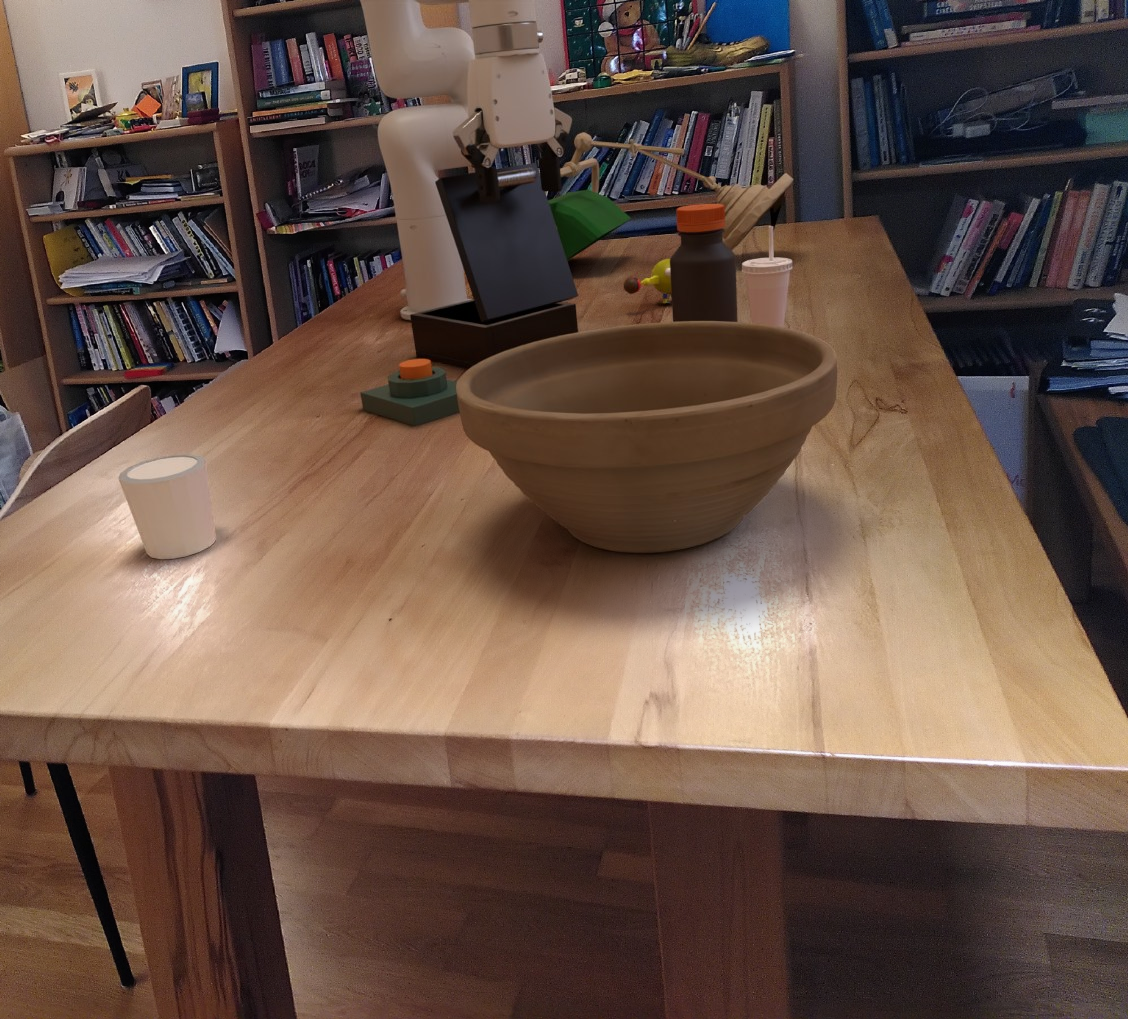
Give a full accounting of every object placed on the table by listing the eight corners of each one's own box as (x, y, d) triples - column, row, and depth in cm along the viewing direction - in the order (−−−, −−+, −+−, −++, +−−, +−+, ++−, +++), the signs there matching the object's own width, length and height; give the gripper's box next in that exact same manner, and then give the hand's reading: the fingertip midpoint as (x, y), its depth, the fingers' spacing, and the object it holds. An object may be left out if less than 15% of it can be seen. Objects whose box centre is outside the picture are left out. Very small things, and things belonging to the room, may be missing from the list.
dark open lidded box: (416, 357, 143) (409, 314, 141) (502, 334, 152) (497, 293, 149) (490, 374, 131) (485, 327, 129) (579, 348, 140) (575, 303, 137)
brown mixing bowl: (433, 503, 91) (411, 356, 86) (713, 436, 101) (708, 301, 96) (560, 640, 67) (539, 446, 62) (915, 535, 76) (921, 359, 71)
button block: (363, 410, 121) (357, 377, 120) (427, 391, 126) (422, 359, 125) (415, 426, 113) (409, 391, 112) (481, 405, 118) (477, 371, 117)
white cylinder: (152, 533, 91) (132, 458, 88) (231, 524, 91) (214, 448, 89) (128, 566, 84) (106, 486, 82) (213, 556, 85) (194, 476, 82)
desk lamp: (676, 342, 217) (537, 216, 215) (819, 183, 196) (666, 44, 195) (635, 390, 186) (473, 244, 185) (798, 208, 166) (617, 43, 165)
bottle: (700, 408, 110) (691, 213, 102) (665, 395, 115) (654, 209, 108) (752, 395, 112) (747, 203, 105) (715, 383, 118) (708, 200, 111)
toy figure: (642, 317, 154) (639, 270, 151) (616, 313, 158) (613, 268, 155) (722, 293, 164) (721, 250, 162) (696, 290, 168) (694, 248, 166)
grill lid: (434, 181, 127) (460, 162, 122) (529, 166, 136) (557, 148, 131) (481, 322, 129) (508, 309, 124) (571, 298, 138) (601, 285, 132)
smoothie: (793, 341, 132) (792, 228, 127) (742, 344, 134) (739, 232, 128) (793, 329, 138) (792, 221, 133) (744, 332, 139) (741, 224, 134)
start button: (395, 379, 119) (392, 364, 118) (421, 371, 121) (419, 357, 120) (412, 383, 116) (410, 368, 115) (439, 376, 118) (436, 361, 117)
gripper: (542, 42, 128) (555, 186, 135) (426, 50, 118) (446, 206, 125) (582, 36, 123) (594, 187, 129) (464, 44, 113) (483, 207, 119)
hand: (521, 196), depth 127 cm, fingers open, 9 cm apart
